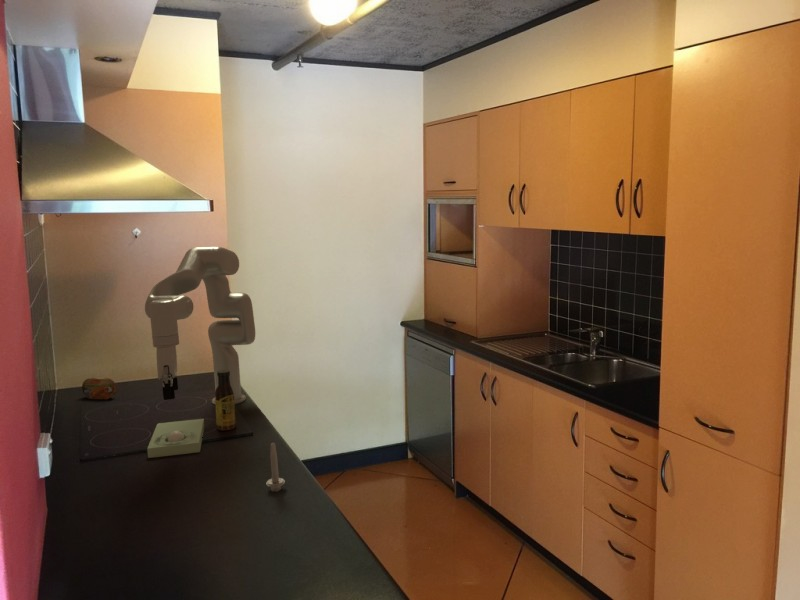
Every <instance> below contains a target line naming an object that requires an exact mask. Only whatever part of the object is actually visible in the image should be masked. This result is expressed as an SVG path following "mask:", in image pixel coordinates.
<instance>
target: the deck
mask: <svg viewBox="0 0 800 600" xmlns="http://www.w3.org/2000/svg"><path fill="white" fill-rule="evenodd" d="M205 426H206V425H205V419H204V418H197V419H188V420H187V419H186V420H179V421H178V420H177V421H168V422H159V423H157V424H156V426H155V429H154V430H153V434H152V436H151V437H150V441H149V444H148V446H147V447H146V448H147V449H146V450H147V458H148V459H150V458H160V457H168V456H177V455H185V454H194V453H200V452H201V448H202V443H203V438H204V431H205ZM173 431H180V432H182V433H183V435H184V440H181V441H178V442H168V436H169V434H170V433H171V432H173ZM202 437H203V438H202Z"/></svg>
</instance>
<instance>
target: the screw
mask: <svg viewBox="0 0 800 600" xmlns="http://www.w3.org/2000/svg"><path fill="white" fill-rule="evenodd" d="M276 449H277V448H276V443H275V442H271V443H270V452H269V453H270V454H269V455H270V456H269V458H270V470H271V478H270V479H268V480H267V481H266V483H265V484H266V487H269V488H270V490H271V492H276V493H277V492H279V491H281V490H282V486H283V485H285V483H286V480H285V479H284V478H282V477H280V476H279V475H280V474H279V463H278V452H277V450H276Z"/></svg>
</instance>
